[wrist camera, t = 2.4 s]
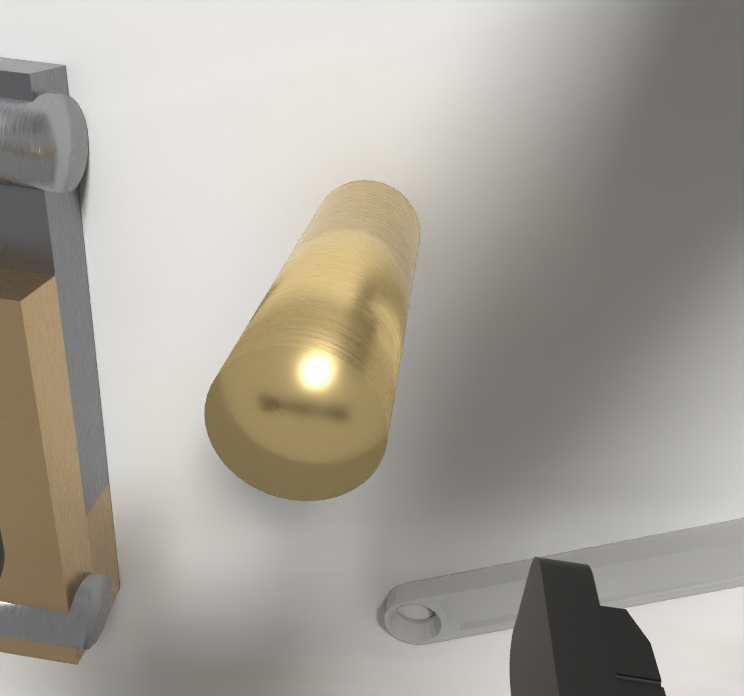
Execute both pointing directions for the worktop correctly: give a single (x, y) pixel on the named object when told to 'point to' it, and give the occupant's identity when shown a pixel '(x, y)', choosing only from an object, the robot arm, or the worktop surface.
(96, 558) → the brass frame with rod
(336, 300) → the pin
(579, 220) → the worktop surface
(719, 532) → the adjustable wrench
